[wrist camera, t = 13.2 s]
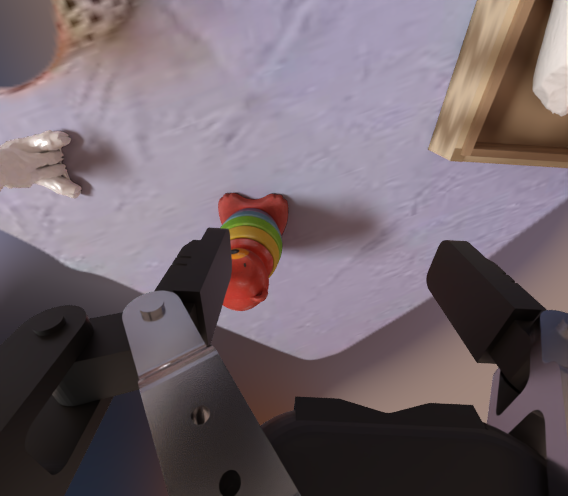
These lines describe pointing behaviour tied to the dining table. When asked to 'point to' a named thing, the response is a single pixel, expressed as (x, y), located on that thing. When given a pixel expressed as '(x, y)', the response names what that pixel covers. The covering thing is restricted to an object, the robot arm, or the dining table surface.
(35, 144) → the sitting furry creature
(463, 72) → the box
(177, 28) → the dining table surface
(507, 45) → the upper crate
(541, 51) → the roll
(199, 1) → the dining table surface
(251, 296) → the stacking bear
